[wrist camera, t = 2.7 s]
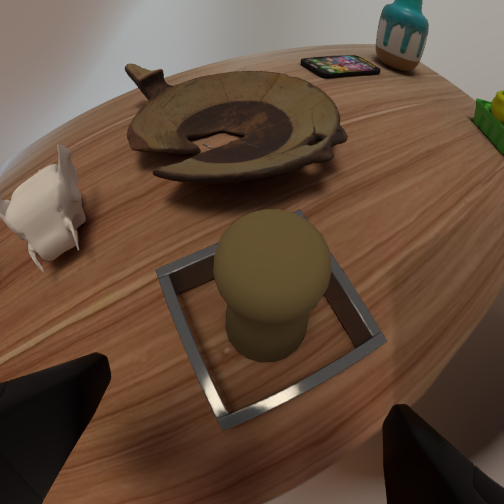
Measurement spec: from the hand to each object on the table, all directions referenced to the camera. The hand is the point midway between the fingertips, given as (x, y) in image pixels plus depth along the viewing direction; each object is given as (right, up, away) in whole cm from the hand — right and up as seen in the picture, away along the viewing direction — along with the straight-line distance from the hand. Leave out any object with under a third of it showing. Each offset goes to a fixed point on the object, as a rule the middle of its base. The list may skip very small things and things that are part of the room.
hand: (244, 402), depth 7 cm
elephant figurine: (-20, +6, +18) cm, 28 cm away
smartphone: (+17, +39, +36) cm, 55 cm away
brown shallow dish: (-3, +19, +25) cm, 32 cm away
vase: (+31, +45, +39) cm, 67 cm away
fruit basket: (+45, +26, +28) cm, 59 cm away
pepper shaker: (+1, -1, +13) cm, 14 cm away
